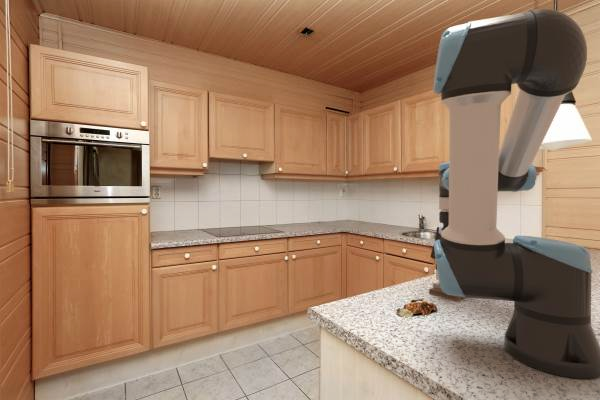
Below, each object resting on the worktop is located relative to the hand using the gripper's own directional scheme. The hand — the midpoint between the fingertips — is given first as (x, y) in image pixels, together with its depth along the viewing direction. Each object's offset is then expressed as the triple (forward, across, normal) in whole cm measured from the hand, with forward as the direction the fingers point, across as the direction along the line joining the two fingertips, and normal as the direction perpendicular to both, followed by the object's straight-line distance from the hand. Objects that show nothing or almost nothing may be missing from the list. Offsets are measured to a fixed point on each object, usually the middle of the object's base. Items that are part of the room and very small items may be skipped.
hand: (452, 276), depth 98 cm
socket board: (+6, 0, 0) cm, 6 cm away
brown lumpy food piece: (+6, -22, -2) cm, 23 cm away
